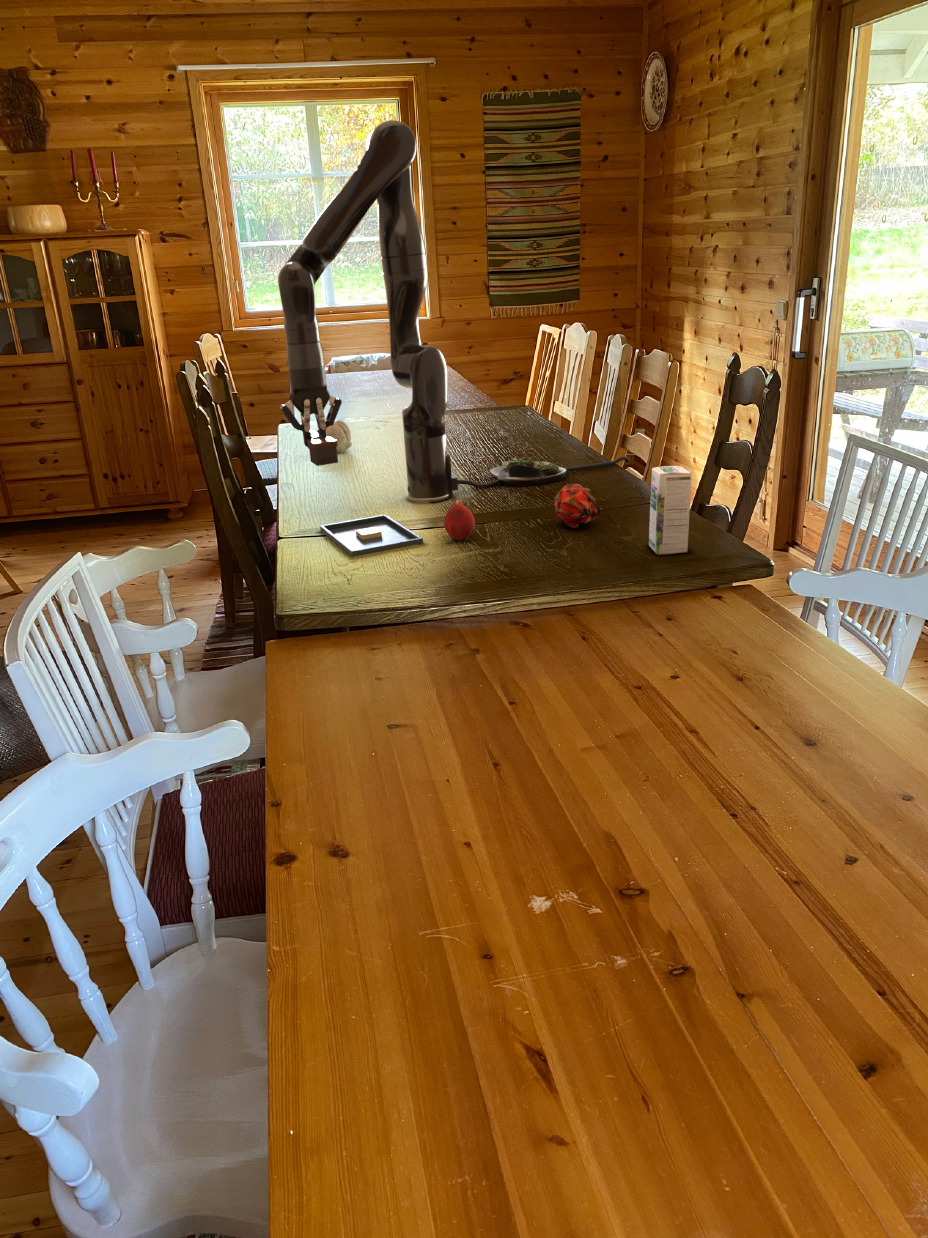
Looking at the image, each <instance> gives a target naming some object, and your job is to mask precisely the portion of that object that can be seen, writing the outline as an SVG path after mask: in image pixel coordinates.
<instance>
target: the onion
mask: <svg viewBox="0 0 928 1238" xmlns="http://www.w3.org/2000/svg"><path fill="white" fill-rule="evenodd" d="M475 521H476V519H475V517H474V515H473V512H472V511H471V510H470V509H469V508H468V507H467V506H465V505H463V501H462V500H460V499H458V500H456V501H455V503H454V505H453V506H452V507H451V508H449V509H448V511H447V512H446V514H445V516H444V522H443V524H444V529H445V531H446V533H447V534H448V535H449V537H451V538H452V539H454V540H455V541H457V542H459V541H460V542H461V541H464V540H465V539H467V538H468V537H469V536H470V535H471V534H472V532H473V531H474V529H475V526H476V522H475Z"/></svg>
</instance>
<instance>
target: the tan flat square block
mask: <svg viewBox="0 0 928 1238" xmlns="http://www.w3.org/2000/svg"><path fill="white" fill-rule="evenodd" d="M356 535H357V536H358V537H360V538H361V539H362V540H365V539H371V538H376V537H382V532H381V531H380V530H378V529H377V528H375V527H372V528H366V529H360V530H356Z"/></svg>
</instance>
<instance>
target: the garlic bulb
mask: <svg viewBox="0 0 928 1238" xmlns="http://www.w3.org/2000/svg"><path fill="white" fill-rule="evenodd" d="M351 435H352V434H351V430H350V428H349V426H348V425H347V423H346V422H345V421H344V420H342V419H337V420H335V421H334V424H333V425H332V426H329V427H327V428H326V437H331V438H333V439H335V440H337V445H338V446H336V447H337V454H343V453H344V452H346V451H347V450H348V449H350V448H351V447H352V444H353V443H352V438H351V437H352V436H351Z"/></svg>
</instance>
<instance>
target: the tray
mask: <svg viewBox="0 0 928 1238" xmlns="http://www.w3.org/2000/svg"><path fill="white" fill-rule="evenodd" d="M372 527H375V528H377V529H378V530H380V531H381V532H382V537H376V538H371V539H365V540H362V539H361V538H360V537H358V536H357V535H356V530H360V529H366V528H372ZM319 529H320V532H321V533H323V534H324V535H325V536H326V537H327V538H328V539H330V540H331V541H332V542H333V543H335V544H336V545H337V546H338V547H340V548H341V549H342V550H343V551H344V552H346V553H347V554H348V555H349V556H350V557H352V558H355V557H359V556H364V555H365V556H366V555H371V554H376V553H381V552H385V551H391V550H392V551H393V550H397V549H403V548H408V547H413V546H417V545H423V544H424V538H423V537H422V536H420V535H418V534H417V533H415V532H414V531H412V530H410V529H409V528H408V527H406V526H405V525H403V524H401V523H399V522H398V521H396V520H395V519H393V518H392V517H390V516H389V515H387V514H380V515H374V516H369V517H363V518H356V519H351V520H344V521H340V522H334V523H328V524H323V525H320V526H319Z"/></svg>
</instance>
